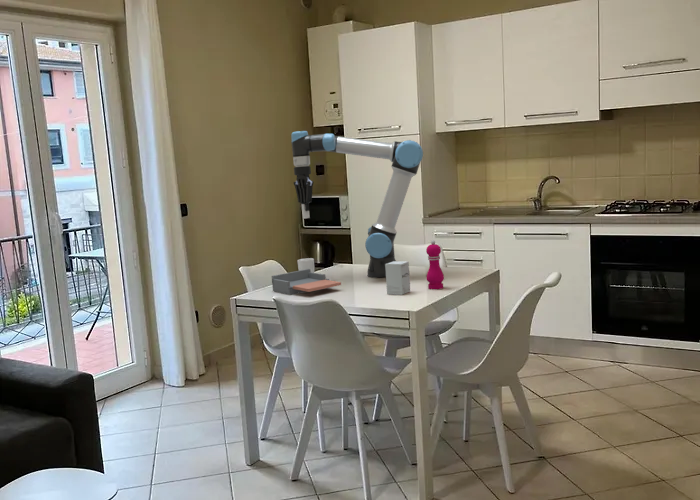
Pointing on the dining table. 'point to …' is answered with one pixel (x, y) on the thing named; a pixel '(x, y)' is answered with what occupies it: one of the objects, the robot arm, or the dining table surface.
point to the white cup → (306, 264)
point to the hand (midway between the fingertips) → (306, 218)
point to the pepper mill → (434, 267)
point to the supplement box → (397, 277)
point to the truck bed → (294, 281)
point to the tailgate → (316, 285)
